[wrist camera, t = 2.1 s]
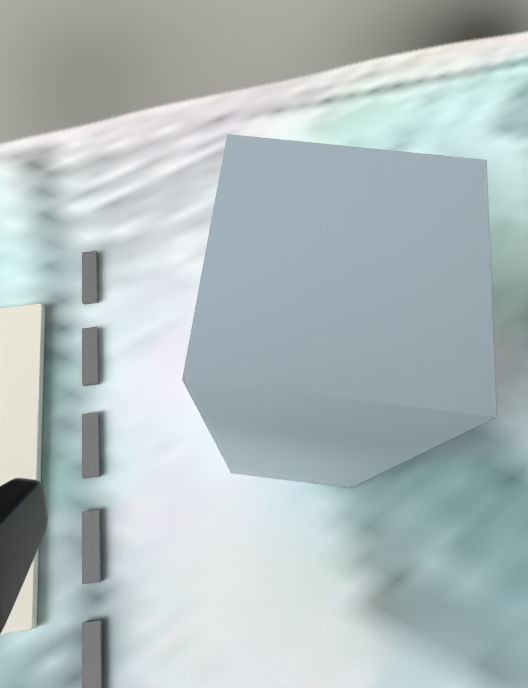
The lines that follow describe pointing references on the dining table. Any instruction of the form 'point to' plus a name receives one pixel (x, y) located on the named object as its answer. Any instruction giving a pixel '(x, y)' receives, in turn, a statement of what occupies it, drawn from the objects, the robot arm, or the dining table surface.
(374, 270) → the stub block
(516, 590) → the dining table surface
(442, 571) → the dining table surface
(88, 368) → the perforation line
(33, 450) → the coaster
